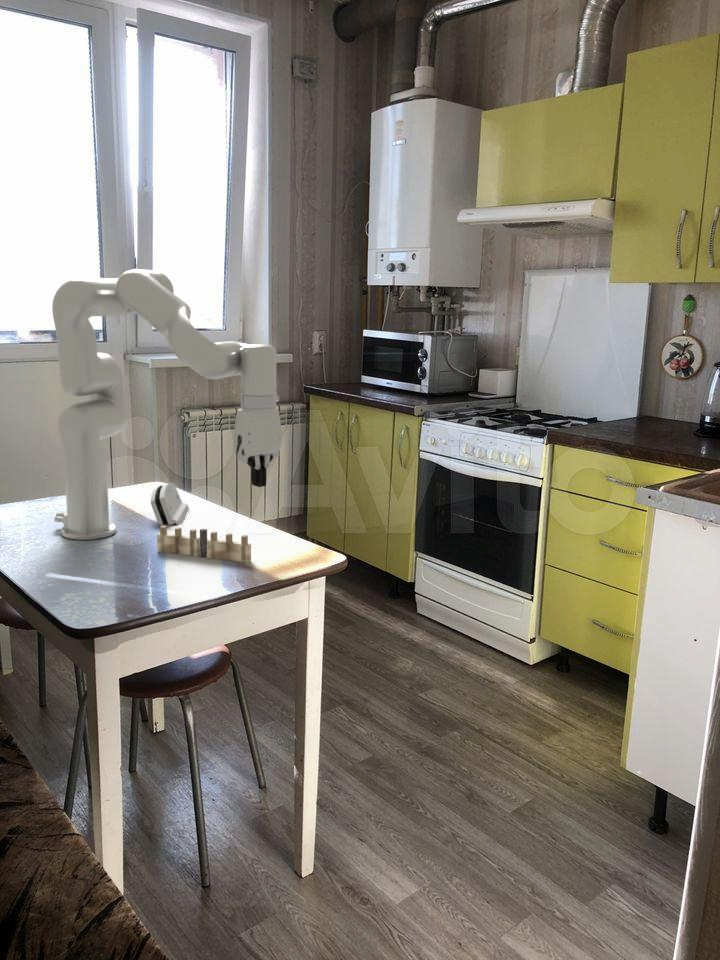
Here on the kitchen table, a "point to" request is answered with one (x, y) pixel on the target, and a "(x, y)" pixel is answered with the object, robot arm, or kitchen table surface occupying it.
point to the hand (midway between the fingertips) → (258, 485)
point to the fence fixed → (182, 542)
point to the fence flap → (229, 548)
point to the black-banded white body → (168, 505)
